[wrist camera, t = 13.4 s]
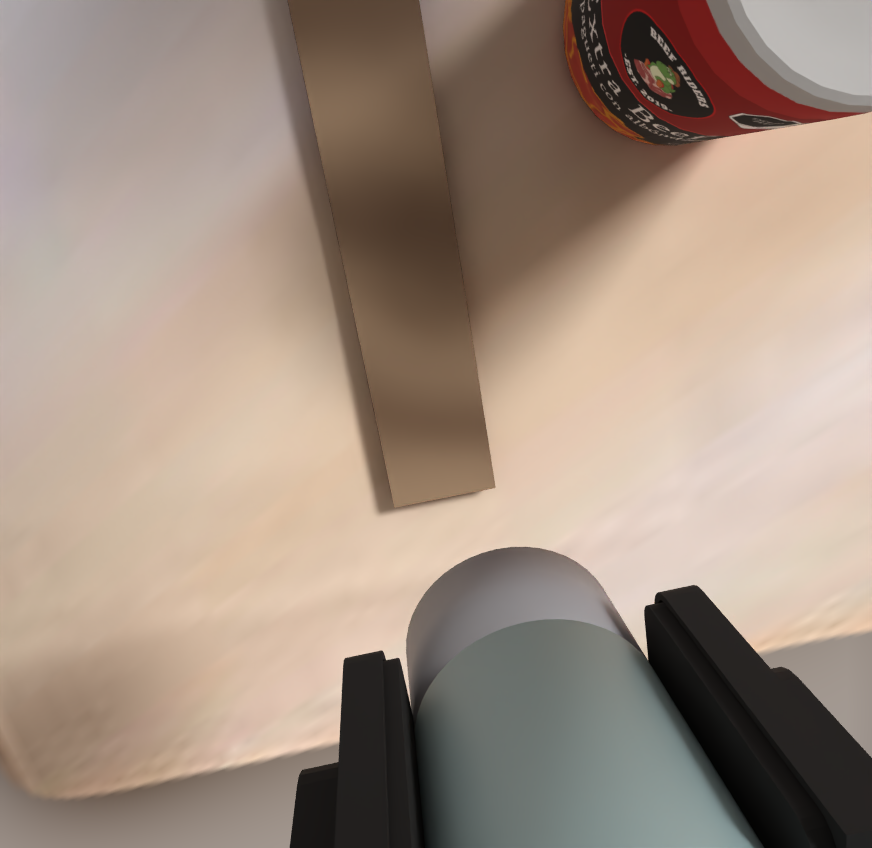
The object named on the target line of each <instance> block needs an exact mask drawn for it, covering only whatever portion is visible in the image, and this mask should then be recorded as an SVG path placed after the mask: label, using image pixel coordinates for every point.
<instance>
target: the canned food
mask: <svg viewBox="0 0 872 848" xmlns="http://www.w3.org/2000/svg"><path fill="white" fill-rule="evenodd" d="M563 32H564V45H565V55H566V59H567V62H568V66H569V70H570V74H571V77H572V79H573V81H574V83H575V85H576V87H577V89H578V91H579V93H580V95H581V97H582V98H583V100H584V101H585V102H586V104H587V105H588V106H589V107H590V109H591V110H592V111H593V112H594V114H595V115H596V116H597V117H598V118H599V119H601V120H602V121H603V122H604V123H606V124H607V125H608V126H609V127H610V128H612V129H613V130H615V131H617V132H619V133H621V134H622V135H624V136H626V137H628V138H630V139H632V140H636V141H640V142H644V143H648V144H653V145H680V144H687V143H693V142H699V141H705V140H711V139H717V138H723V137H729V136H735V135H741V134H747V133H753V132H759V131H765V130H771V129H778V128H784V127H790V126H796V125H802V124H808V123H814V122H820V121H826V120H832V119H837V118H843V117H848V116H853V115H859V114H864V113H868V112H871V111H872V0H566V1H565V11H564V22H563Z"/></svg>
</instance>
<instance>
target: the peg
mask: <svg viewBox="0 0 872 848" xmlns="http://www.w3.org/2000/svg"><path fill="white" fill-rule="evenodd" d="M406 655H407V666H408V677H409V689H410V700H411V710H412V715H413V722H414V733H415V744H416V755H417V766H418V777H419V787H420V798H421V809H422V820H423V831H424V842H425V848H764V847H763V845H762V843H761V842H760V840H759V839H758V837H757V835H756V834H755V832H754V830H753V829H752V827H751V826H750V824H749V822H748V821H747V819H746V818H745V816H744V814H743V813H742V811H741V810H740V808H739V806H738V805H737V803H736V802H735V800H734V798H733V797H732V795H731V793H730V792H729V790H728V789H727V787H726V785H725V784H724V782H723V781H722V779H721V777H720V776H719V774H718V773H717V771H716V769H715V768H714V766H713V765H712V763H711V761H710V760H709V758H708V756H707V755H706V753H705V752H704V750H703V748H702V747H701V745H700V744H699V742H698V740H697V739H696V737H695V736H694V734H693V732H692V731H691V729H690V728H689V726H688V724H687V723H686V721H685V719H684V718H683V716H682V715H681V713H680V711H679V710H678V708H677V707H676V705H675V703H674V702H673V700H672V699H671V697H670V695H669V694H668V692H667V690H666V689H665V687H664V686H663V684H662V682H661V681H660V679H659V678H658V676H657V674H656V673H655V671H654V670H653V668H652V666H651V665H650V663H649V662H648V660H647V658H646V657H645V655H644V653H643V652H642V650H641V649H640V647H639V645H638V644H637V642H636V641H635V639H634V637H633V636H632V634H631V633H630V631H629V629H628V628H627V626H626V625H625V623H624V621H623V620H622V618H621V616H620V615H619V613H618V612H617V610H616V608H615V607H614V605H613V604H612V602H611V600H610V599H609V597H608V596H607V594H606V592H605V591H604V589H603V588H602V586H601V585H600V584H599V582H598V581H597V580H596V578H595V577H594V576H593V575H592V574H591V573H590V572H589V571H588V570H587V569H585V568H584V567H583V566H581V565H580V564H578V563H577V562H575V561H574V560H572V559H570V558H568V557H566V556H564V555H561V554H558V553H556V552H553V551H549V550H544V549H540V548H531V547H509V548H502V549H496V550H492V551H488V552H484V553H481V554H479V555H476V556H474V557H471V558H469V559H467V560H465V561H463V562H461V563H459V564H457V565H456V566H454V567H453V568H451V569H450V570H449V571H447V572H446V573H444V574H443V575H442V576H441V577H440V578H439V579H438V580H437V581H435V582H434V583H433V585H432V586H431V587H430V588H429V589H428V590H427V592H426V593H425V594H424V596H423V597H422V599H421V600H420V602H419V603H418V605H417V607H416V609H415V611H414V613H413V615H412V618H411V621H410V624H409V627H408V633H407V639H406Z"/></svg>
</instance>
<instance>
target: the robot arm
mask: <svg viewBox="0 0 872 848" xmlns="http://www.w3.org/2000/svg"><path fill="white" fill-rule="evenodd" d="M644 616H645V627H646V638H647V649H648V661H649V663H650V665H651V666H652V668H653V670H654V671H655V673H656V674H657V676H658V678H659V679H660V681H661V682H662V684H663V686H664V687H665V689H666V690H667V692H668V694H669V695H670V697H671V699H672V700H673V702H674V703H675V705H676V707H677V708H678V710H679V711H680V713H681V715H682V716H683V718H684V719H685V721H686V723H687V724H688V726H689V728H690V729H691V731H692V732H693V734H694V736H695V737H696V739H697V740H698V742H699V744H700V745H701V747H702V748H703V750H704V752H705V753H706V755H707V756H708V758H709V760H710V761H711V763H712V765H713V766H714V768H715V769H716V771H717V773H718V774H719V776H720V777H721V779H722V781H723V782H724V784H725V785H726V787H727V789H728V790H729V792H730V793H731V795H732V797H733V798H734V800H735V802H736V803H737V805H738V806H739V808H740V810H741V811H742V813H743V814H744V816H745V818H746V819H747V821H748V822H749V824H750V826H751V827H752V829H753V830H754V832H755V834H756V835H757V837H758V839H759V840H760V842H761V843H762V845H763V847H764V848H872V758H871V757H870V756H869V755H868V753H866V751H865V750H864V749H863V748H862V747H861V746H860V745H859V744H858V743H857V742H856V741H855V739H854V738H853V737H852V736H851V735H850V734H849V733H848V732H847V731H846V729H845V728H844V727H843V726H842V725H841V724H840V723H839V722H838V721H837V720H836V719H835V717H834V716H833V715H832V714H831V713H830V712H829V711H828V710H827V709H826V708H825V707H824V706H823V704H822V703H821V702H820V701H819V700H818V699H817V698H816V697H815V696H814V695H813V693H812V692H811V691H810V690H809V689H808V688H807V687H806V686H805V685H804V684H803V683H802V681H801V680H800V679H799V678H798V677H797V676H795V675H794V674H793V673H792V672H791V671H790V670H789V669H786V668H783V667H778V668H773V669H770V667H769V666H768V665H767V664H766V663H765V662H764V661H763V659H762V658H761V657H760V656H759V655H758V654H757V653H756V651H755V650H754V649H753V648H752V647H751V646H750V645H749V643H748V642H747V641H746V640H745V639H744V638H743V637H742V635H741V634H740V633H739V632H738V631H737V630H736V629H735V627H734V626H733V625H732V624H731V623H730V622H729V621H728V619H727V618H726V617H725V616H724V615H723V614H722V613H721V611H720V610H719V609H718V608H717V607H716V606H715V605H714V603H713V602H712V601H711V600H710V599H709V598H708V597H707V595H706V594H705V593H704V592H703V591H702V590H701V589H700V588H699V587H698V586H695V585H692V586H687V587H682V588H677V589H673V590H668V591H663V592H658V593H657V594H656V596H655V604H652V605H647V606H646V607H645V610H644ZM290 848H425V842H424V831H423V820H422V809H421V798H420V787H419V777H418V766H417V755H416V744H415V733H414V722H413V715H412V710H411V706H410V701H409V697H408V693H407V688H406V684H405V680H404V675H403V671H402V666H401V662H400V659H399V658H396V659H391V660H386V659H385V655H384V652H383V651H377V652H372V653H368V654H363V655H358V656H353V657H349V658H345V659H344V664H343V683H342V703H341V723H340V743H339V762H337V763H333V764H328V765H323V766H319V767H314V768H309V769H305V770H302V771H301V773H300V775H299V779H298V784H297V791H296V800H295V808H294V817H293V826H292V833H291V842H290Z"/></svg>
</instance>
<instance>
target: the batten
mask: <svg viewBox="0 0 872 848" xmlns="http://www.w3.org/2000/svg"><path fill="white" fill-rule="evenodd" d="M288 5H289V10H290V14H291V19H292V24H293V29H294V33H295V38H296V43H297V48H298V52H299V57H300V62H301V67H302V71H303V76H304V81H305V86H306V90H307V95H308V100H309V105H310V109H311V114H312V119H313V124H314V128H315V133H316V138H317V143H318V147H319V152H320V157H321V162H322V166H323V171H324V176H325V181H326V185H327V190H328V195H329V200H330V204H331V209H332V214H333V219H334V223H335V228H336V233H337V238H338V242H339V247H340V252H341V257H342V261H343V266H344V271H345V276H346V280H347V285H348V290H349V295H350V299H351V304H352V309H353V314H354V318H355V323H356V328H357V333H358V337H359V342H360V347H361V352H362V356H363V361H364V366H365V371H366V375H367V380H368V385H369V390H370V394H371V399H372V404H373V409H374V413H375V418H376V423H377V427H378V432H379V437H380V442H381V446H382V451H383V456H384V461H385V465H386V470H387V475H388V480H389V484H390V489H391V494H392V499H393V503H394V508H396V507H401V506H406V505H411V504H416V503H421V502H426V501H431V500H436V499H441V498H446V497H451V496H457V495H462V494H467V493H472V492H477V491H482V490H487V489H492V488H495V481H494V475H493V469H492V462H491V456H490V449H489V443H488V437H487V430H486V424H485V418H484V411H483V405H482V399H481V392H480V386H479V379H478V373H477V367H476V360H475V354H474V348H473V341H472V335H471V328H470V322H469V316H468V309H467V303H466V297H465V290H464V284H463V277H462V271H461V265H460V258H459V252H458V246H457V239H456V233H455V226H454V220H453V214H452V207H451V201H450V195H449V188H448V182H447V175H446V169H445V163H444V156H443V150H442V144H441V137H440V131H439V124H438V118H437V112H436V105H435V99H434V93H433V86H432V80H431V73H430V67H429V61H428V54H427V48H426V42H425V35H424V29H423V23H422V16H421V10H420V3H419V0H288Z"/></svg>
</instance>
